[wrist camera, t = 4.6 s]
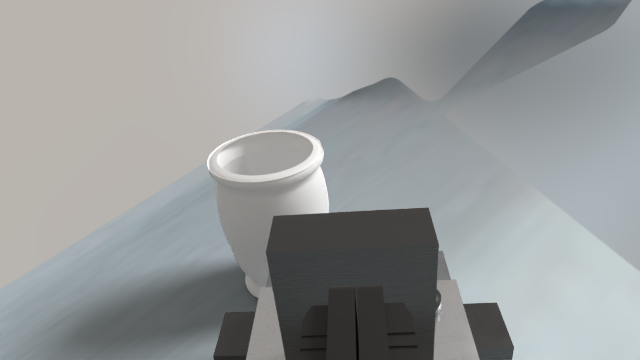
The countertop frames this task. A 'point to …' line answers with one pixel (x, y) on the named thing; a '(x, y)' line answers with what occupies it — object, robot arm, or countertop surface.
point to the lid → (358, 278)
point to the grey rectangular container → (481, 316)
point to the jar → (265, 191)
